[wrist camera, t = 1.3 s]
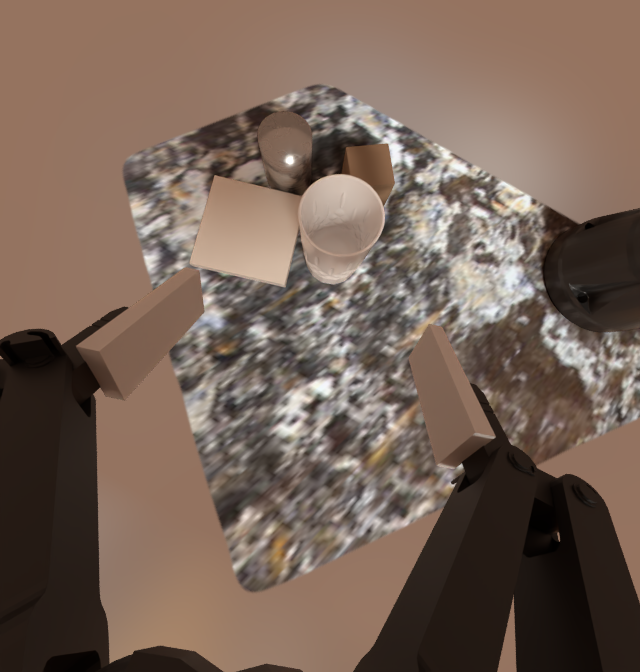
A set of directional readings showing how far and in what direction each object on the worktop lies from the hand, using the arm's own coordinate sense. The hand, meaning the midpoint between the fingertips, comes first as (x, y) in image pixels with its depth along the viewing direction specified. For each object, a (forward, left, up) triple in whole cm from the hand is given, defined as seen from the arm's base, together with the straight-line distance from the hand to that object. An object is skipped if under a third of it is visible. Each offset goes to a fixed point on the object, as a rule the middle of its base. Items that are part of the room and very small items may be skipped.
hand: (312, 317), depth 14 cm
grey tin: (+8, -21, -17) cm, 28 cm away
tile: (+11, -12, -17) cm, 23 cm away
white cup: (0, -11, -17) cm, 20 cm away
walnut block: (-2, -21, -17) cm, 27 cm away
